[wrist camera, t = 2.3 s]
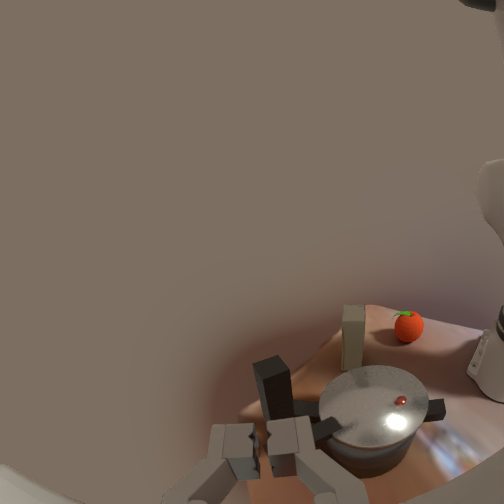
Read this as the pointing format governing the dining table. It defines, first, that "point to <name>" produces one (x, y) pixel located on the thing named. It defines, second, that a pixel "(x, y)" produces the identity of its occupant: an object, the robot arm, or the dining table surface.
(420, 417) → the lid
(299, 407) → the pot
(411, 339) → the clementine
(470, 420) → the dining table surface
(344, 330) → the skincare box
